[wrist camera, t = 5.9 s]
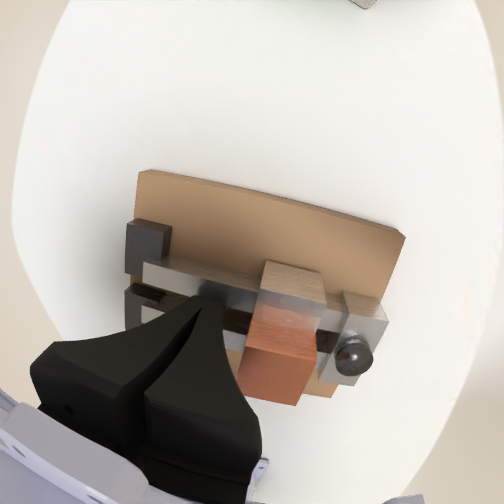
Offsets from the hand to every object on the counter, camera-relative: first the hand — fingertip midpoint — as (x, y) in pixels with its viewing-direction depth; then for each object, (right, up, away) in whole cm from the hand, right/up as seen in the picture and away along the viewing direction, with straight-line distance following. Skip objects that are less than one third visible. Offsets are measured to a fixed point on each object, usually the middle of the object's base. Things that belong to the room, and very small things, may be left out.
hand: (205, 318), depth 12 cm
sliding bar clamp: (+2, 0, +2) cm, 2 cm away
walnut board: (+2, +1, +3) cm, 3 cm away
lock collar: (+3, 0, +2) cm, 4 cm away
